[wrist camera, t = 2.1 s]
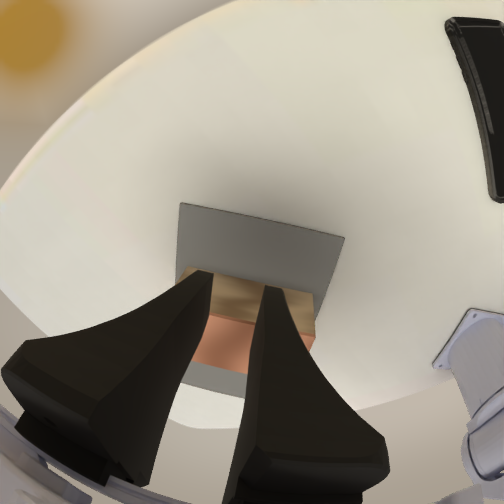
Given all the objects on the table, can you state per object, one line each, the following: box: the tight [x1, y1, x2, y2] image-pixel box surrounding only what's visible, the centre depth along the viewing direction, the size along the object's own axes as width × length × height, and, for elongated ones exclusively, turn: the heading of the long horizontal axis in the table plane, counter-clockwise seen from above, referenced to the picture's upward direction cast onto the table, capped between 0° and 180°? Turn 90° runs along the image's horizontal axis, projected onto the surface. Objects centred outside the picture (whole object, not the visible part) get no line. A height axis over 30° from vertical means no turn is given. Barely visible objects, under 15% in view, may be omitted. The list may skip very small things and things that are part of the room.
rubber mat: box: [175, 203, 345, 399], centre depth 24 cm, size 12×21×1 cm, turn 169°
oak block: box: [175, 266, 315, 374], centre depth 21 cm, size 10×5×5 cm, turn 79°
